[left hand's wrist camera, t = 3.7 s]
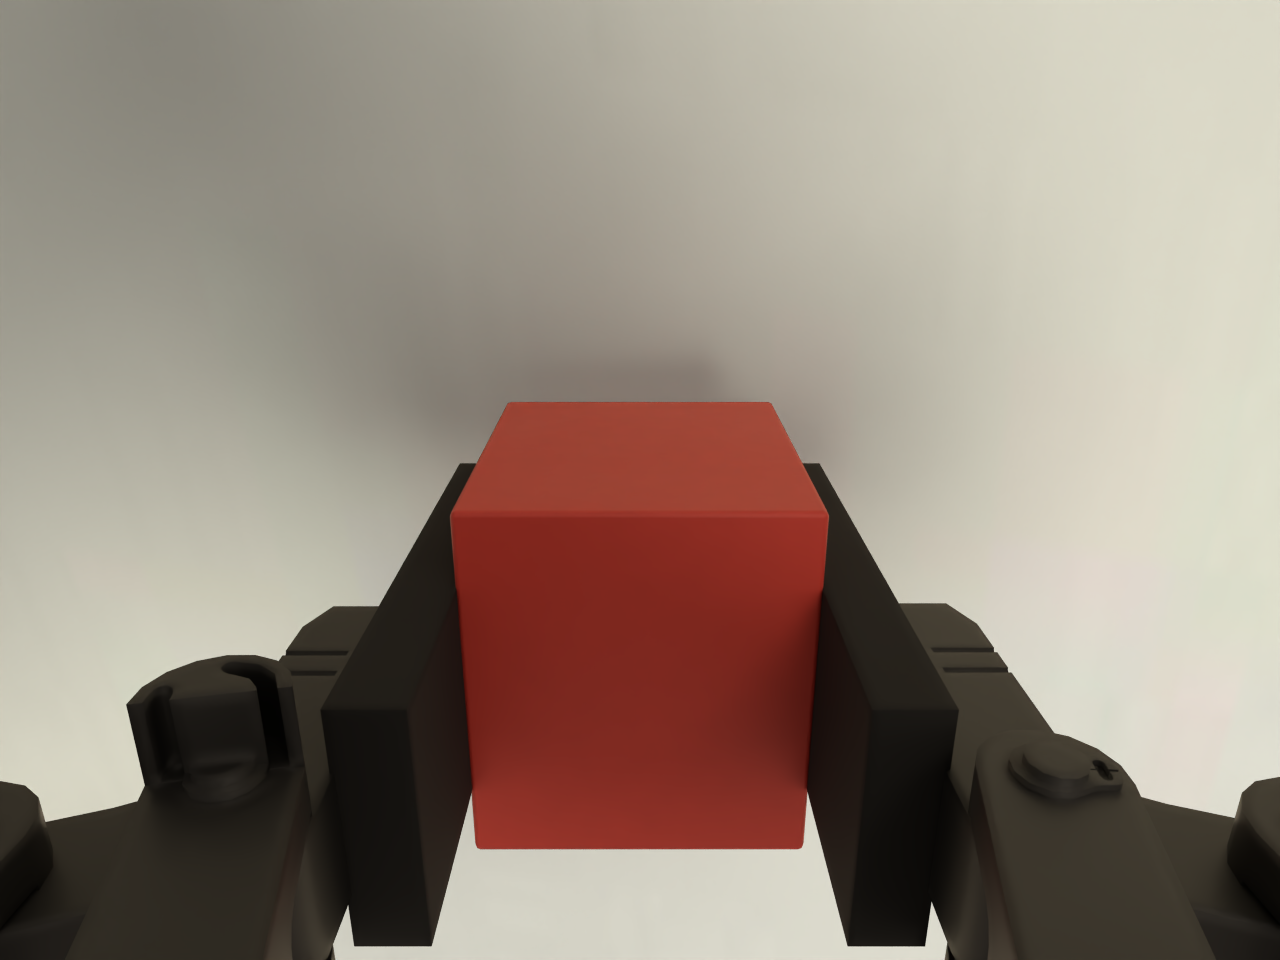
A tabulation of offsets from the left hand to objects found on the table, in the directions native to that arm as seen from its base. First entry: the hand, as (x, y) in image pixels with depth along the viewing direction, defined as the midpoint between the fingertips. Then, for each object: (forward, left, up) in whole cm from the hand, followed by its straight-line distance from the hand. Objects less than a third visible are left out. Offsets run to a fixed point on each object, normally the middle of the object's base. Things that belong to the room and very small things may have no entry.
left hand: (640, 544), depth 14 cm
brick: (0, 0, 0) cm, 0 cm away
